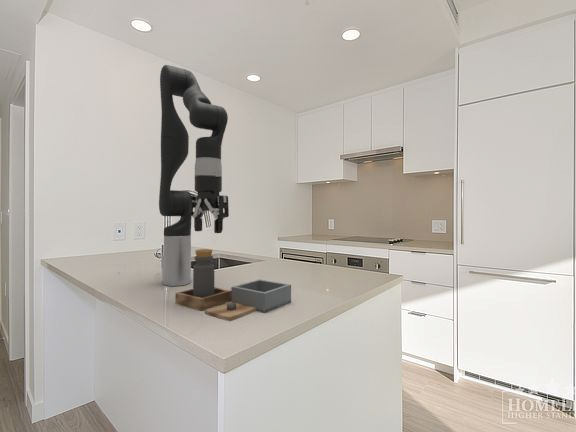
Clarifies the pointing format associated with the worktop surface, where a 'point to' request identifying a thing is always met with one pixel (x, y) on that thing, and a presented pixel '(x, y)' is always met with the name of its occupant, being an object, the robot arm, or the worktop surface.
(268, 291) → the bin
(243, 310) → the corral lid
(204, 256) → the bottle
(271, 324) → the worktop surface
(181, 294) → the tray
